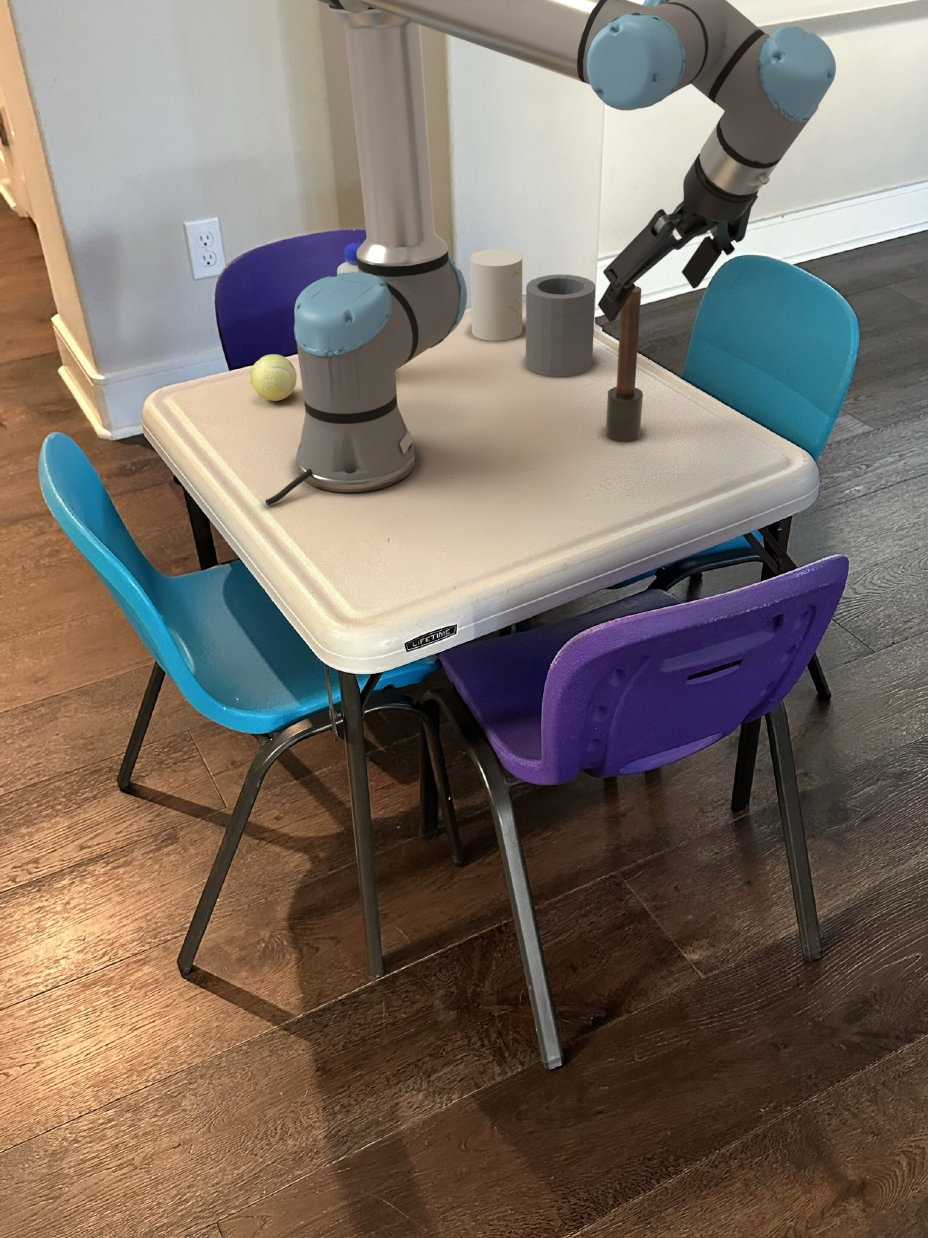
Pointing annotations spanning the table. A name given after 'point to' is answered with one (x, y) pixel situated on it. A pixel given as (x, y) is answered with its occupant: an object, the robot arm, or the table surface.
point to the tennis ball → (273, 377)
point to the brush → (626, 377)
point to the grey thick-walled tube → (560, 325)
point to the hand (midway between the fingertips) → (648, 295)
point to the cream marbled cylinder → (496, 294)
